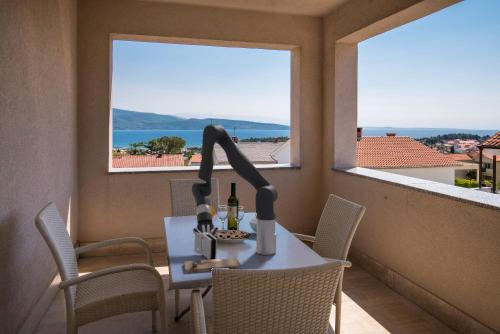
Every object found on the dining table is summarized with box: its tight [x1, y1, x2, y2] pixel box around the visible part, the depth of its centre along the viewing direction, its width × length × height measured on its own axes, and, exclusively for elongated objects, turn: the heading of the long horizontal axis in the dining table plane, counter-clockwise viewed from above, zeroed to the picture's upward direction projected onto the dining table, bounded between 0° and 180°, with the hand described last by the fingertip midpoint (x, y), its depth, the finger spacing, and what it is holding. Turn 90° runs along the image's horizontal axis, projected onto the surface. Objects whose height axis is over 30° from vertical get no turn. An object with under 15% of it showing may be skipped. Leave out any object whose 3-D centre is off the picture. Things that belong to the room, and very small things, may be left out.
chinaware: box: [249, 217, 257, 235], centre depth 223 cm, size 15×15×8 cm
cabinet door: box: [183, 257, 242, 274], centre depth 166 cm, size 24×10×3 cm, turn 104°
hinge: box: [193, 232, 218, 260], centre depth 179 cm, size 14×5×10 cm, turn 44°
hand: (207, 245), depth 181 cm, fingers closed
